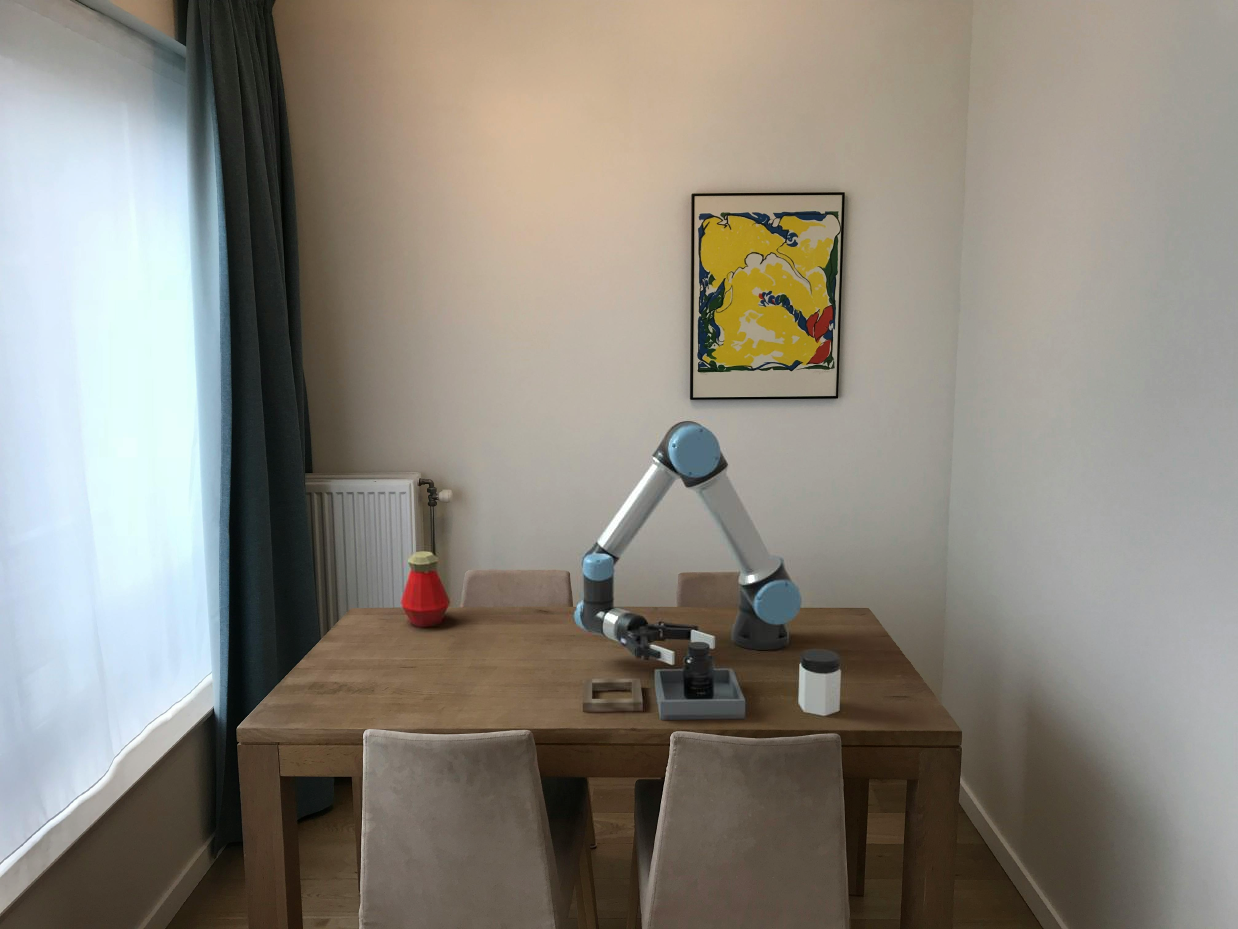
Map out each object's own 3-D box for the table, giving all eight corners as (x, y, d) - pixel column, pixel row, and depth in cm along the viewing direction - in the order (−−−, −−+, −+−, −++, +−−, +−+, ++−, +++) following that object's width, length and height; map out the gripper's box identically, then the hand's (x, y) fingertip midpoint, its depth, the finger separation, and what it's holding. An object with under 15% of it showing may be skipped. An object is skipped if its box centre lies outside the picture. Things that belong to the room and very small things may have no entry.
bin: (731, 684, 201) (732, 668, 200) (745, 718, 183) (745, 700, 183) (654, 685, 201) (654, 669, 200) (660, 719, 183) (660, 702, 182)
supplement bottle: (681, 691, 195) (681, 640, 193) (710, 690, 196) (711, 639, 194) (685, 703, 188) (686, 651, 186) (716, 702, 189) (717, 649, 187)
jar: (818, 719, 183) (819, 665, 181) (790, 706, 189) (792, 653, 188) (847, 709, 188) (849, 656, 186) (819, 696, 194) (821, 645, 193)
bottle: (459, 625, 243) (457, 556, 240) (413, 634, 235) (410, 563, 232) (437, 611, 256) (435, 545, 253) (393, 619, 248) (390, 551, 245)
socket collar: (639, 686, 200) (639, 678, 200) (642, 711, 187) (642, 702, 187) (583, 687, 200) (583, 679, 199) (582, 711, 187) (582, 703, 187)
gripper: (662, 630, 215) (729, 652, 200) (587, 656, 198) (655, 682, 183) (662, 601, 214) (729, 621, 199) (587, 624, 197) (655, 648, 182)
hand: (694, 650), depth 191 cm, fingers open, 13 cm apart
